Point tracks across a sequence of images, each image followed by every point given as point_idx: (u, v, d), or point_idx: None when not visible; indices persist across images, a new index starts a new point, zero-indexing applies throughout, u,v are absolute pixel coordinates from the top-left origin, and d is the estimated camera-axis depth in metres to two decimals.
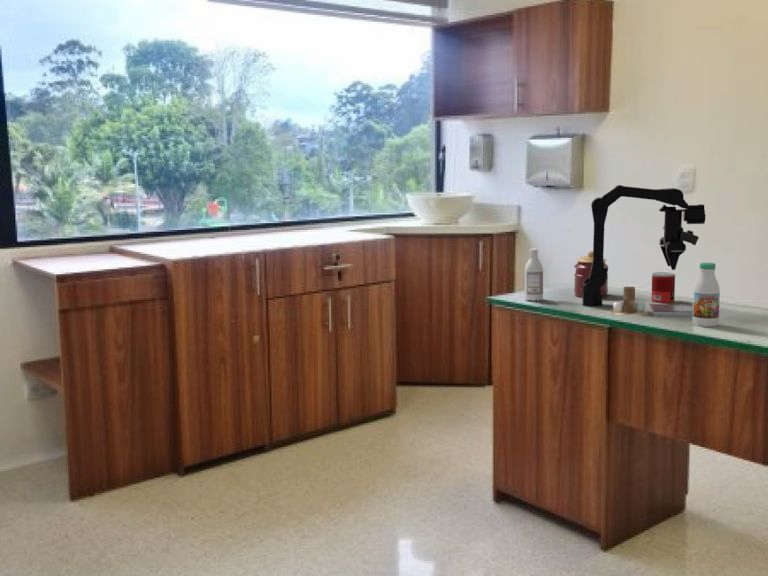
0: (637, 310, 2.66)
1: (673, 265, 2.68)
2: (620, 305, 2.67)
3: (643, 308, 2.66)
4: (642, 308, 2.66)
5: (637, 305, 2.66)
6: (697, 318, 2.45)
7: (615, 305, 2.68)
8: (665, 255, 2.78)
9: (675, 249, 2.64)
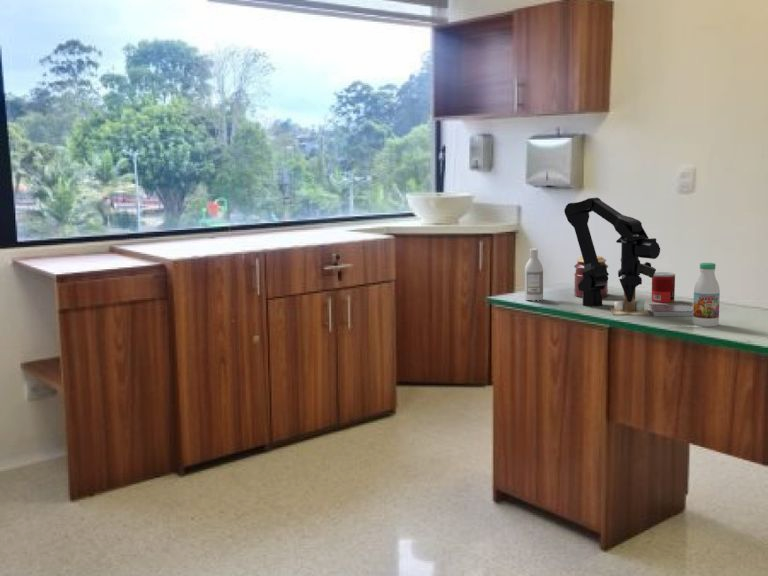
0: (636, 309, 2.66)
1: (629, 297, 2.65)
2: (621, 304, 2.67)
3: (642, 307, 2.66)
4: (641, 307, 2.66)
5: (636, 304, 2.66)
6: (697, 318, 2.45)
7: (616, 304, 2.68)
8: (624, 288, 2.69)
9: (631, 283, 2.57)
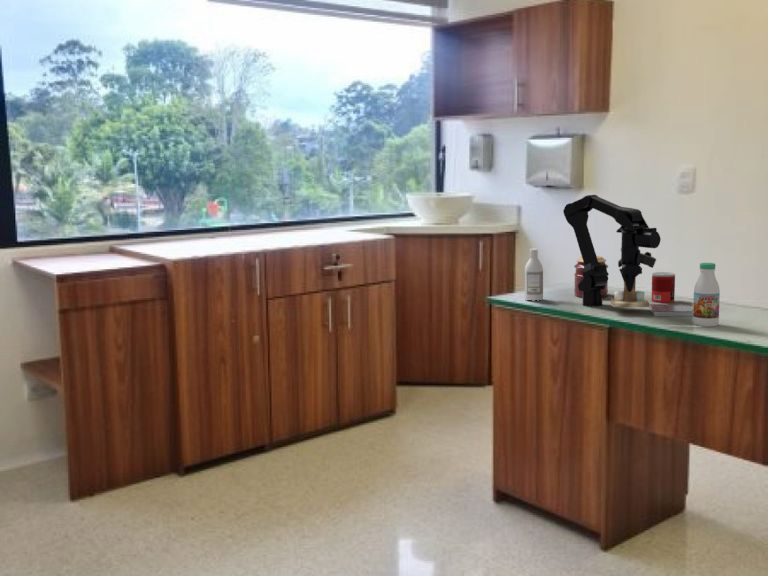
0: (636, 299, 2.66)
1: (629, 287, 2.64)
2: (621, 294, 2.66)
3: (642, 297, 2.65)
4: (641, 297, 2.65)
5: (636, 294, 2.66)
6: (697, 318, 2.45)
7: (616, 294, 2.67)
8: None
9: (631, 272, 2.57)
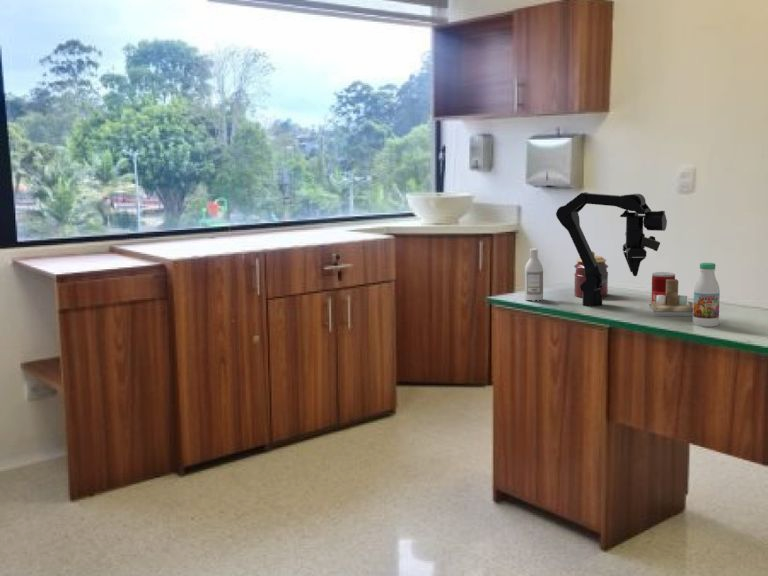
0: (679, 303, 2.63)
1: (635, 271, 2.66)
2: (663, 298, 2.64)
3: (685, 301, 2.63)
4: (684, 301, 2.62)
5: (679, 298, 2.63)
6: (697, 318, 2.45)
7: (658, 298, 2.64)
8: (628, 261, 2.76)
9: (636, 255, 2.61)
